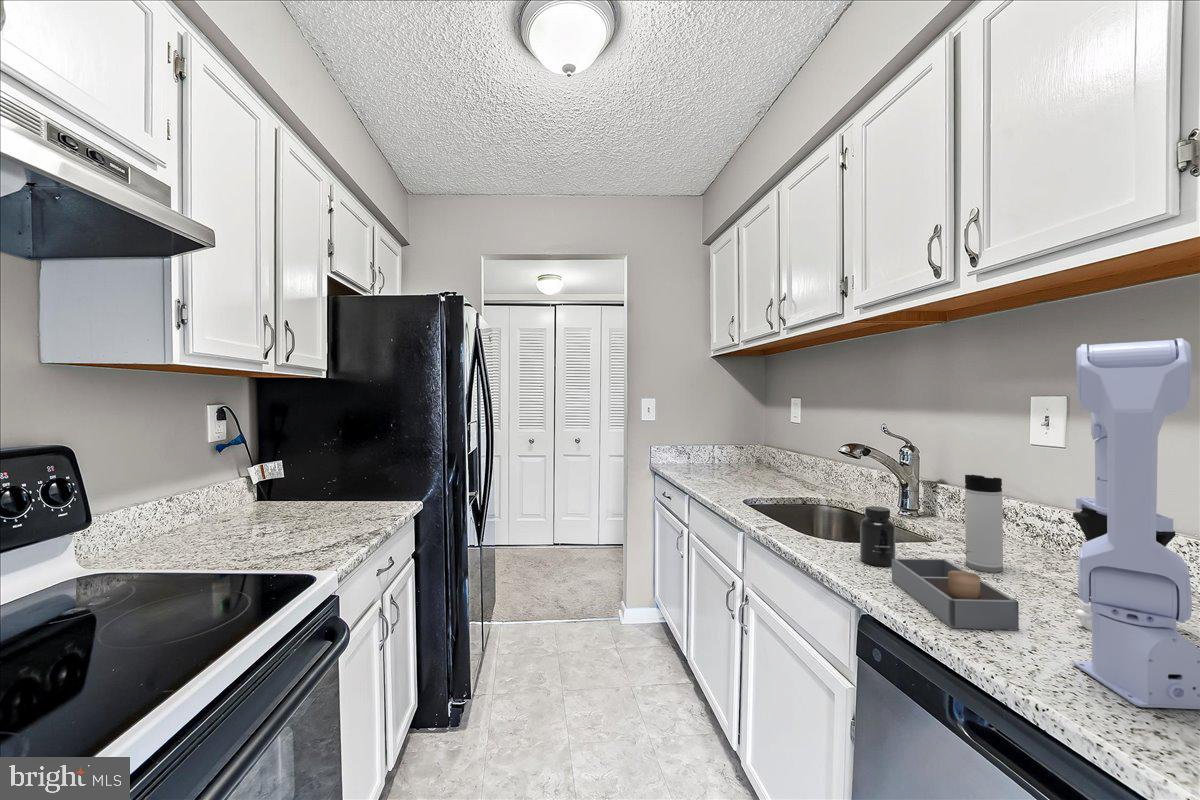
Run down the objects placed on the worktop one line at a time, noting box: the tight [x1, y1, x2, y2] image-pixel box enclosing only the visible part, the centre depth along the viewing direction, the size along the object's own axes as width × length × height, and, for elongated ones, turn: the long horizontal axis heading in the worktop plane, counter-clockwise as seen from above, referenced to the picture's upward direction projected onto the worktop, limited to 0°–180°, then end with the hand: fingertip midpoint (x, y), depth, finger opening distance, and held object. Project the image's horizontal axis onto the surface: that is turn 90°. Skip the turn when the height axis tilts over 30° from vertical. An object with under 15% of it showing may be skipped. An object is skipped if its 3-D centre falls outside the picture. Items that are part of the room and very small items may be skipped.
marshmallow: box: [1073, 600, 1092, 631], centre depth 78 cm, size 5×1×4 cm, turn 68°
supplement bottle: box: [859, 505, 896, 568], centre depth 110 cm, size 7×7×12 cm
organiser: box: [891, 558, 1020, 631], centre depth 89 cm, size 20×10×4 cm, turn 174°
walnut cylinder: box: [948, 570, 981, 600], centre depth 84 cm, size 4×4×6 cm
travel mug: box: [964, 474, 1004, 574], centre depth 105 cm, size 6×7×20 cm
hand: (1120, 563), depth 81 cm, fingers open, 7 cm apart
